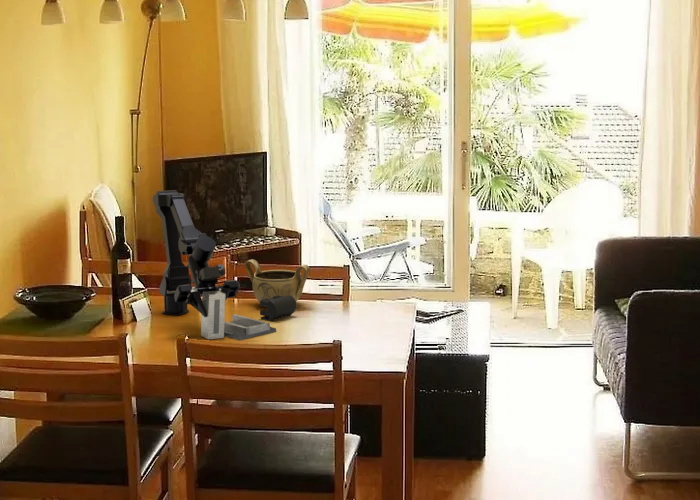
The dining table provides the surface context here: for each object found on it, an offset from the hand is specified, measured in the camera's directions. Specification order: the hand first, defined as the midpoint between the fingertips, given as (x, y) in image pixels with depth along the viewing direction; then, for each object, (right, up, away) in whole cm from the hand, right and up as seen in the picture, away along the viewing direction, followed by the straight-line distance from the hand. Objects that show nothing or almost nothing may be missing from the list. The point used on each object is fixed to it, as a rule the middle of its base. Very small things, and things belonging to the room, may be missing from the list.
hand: (214, 315), depth 294 cm
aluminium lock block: (-1, -6, +2) cm, 7 cm away
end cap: (+16, -3, +25) cm, 30 cm away
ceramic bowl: (+15, 0, +41) cm, 44 cm away
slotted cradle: (+6, -5, +9) cm, 12 cm away
